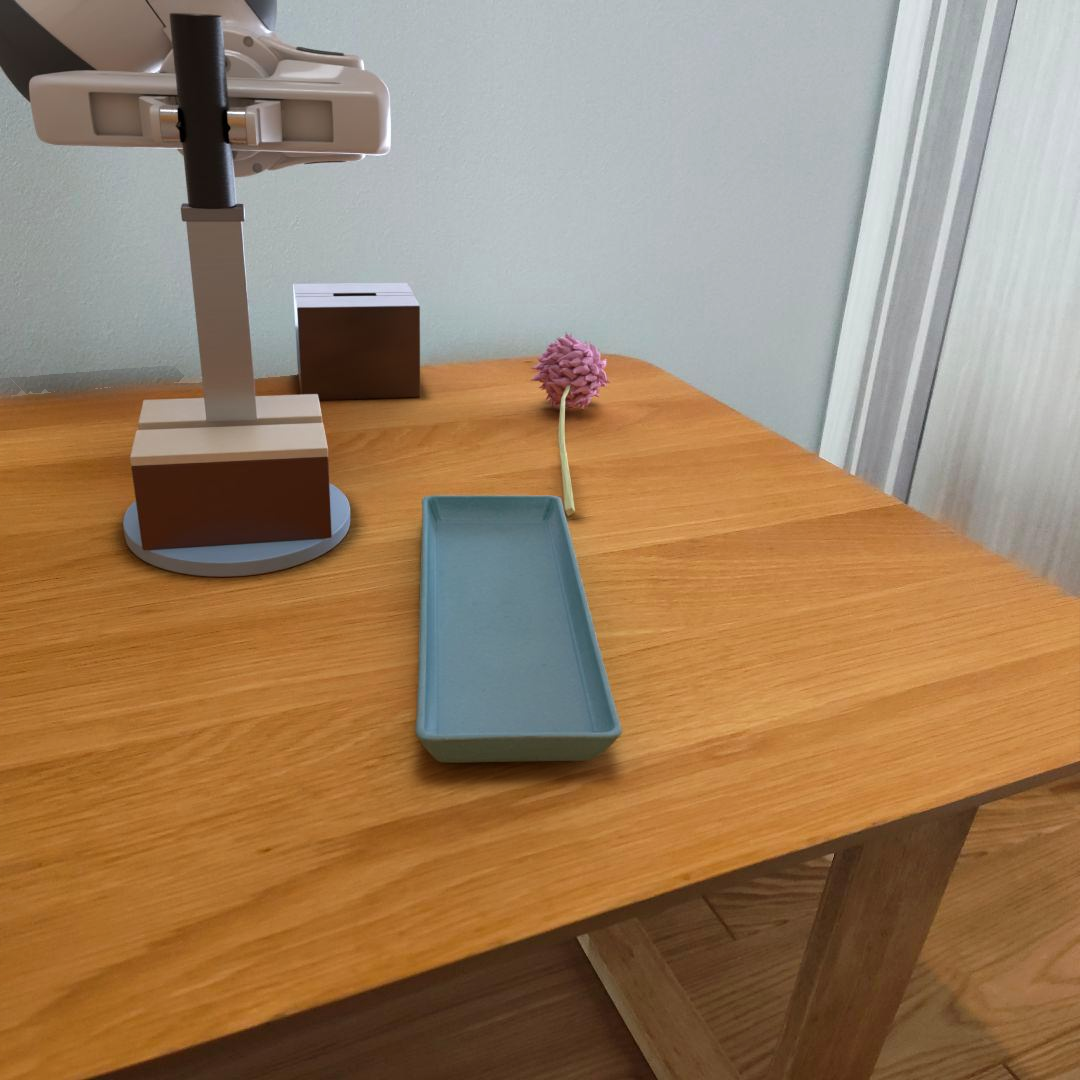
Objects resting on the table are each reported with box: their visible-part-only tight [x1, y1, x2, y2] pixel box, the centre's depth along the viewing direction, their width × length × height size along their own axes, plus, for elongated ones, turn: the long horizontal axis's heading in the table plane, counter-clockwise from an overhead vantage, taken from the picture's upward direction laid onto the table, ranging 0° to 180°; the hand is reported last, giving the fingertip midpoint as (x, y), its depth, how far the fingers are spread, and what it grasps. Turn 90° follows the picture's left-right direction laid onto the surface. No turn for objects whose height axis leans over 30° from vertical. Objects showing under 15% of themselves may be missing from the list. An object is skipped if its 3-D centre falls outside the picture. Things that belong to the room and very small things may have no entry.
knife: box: [169, 13, 257, 422], centre depth 60 cm, size 3×3×22 cm
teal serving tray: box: [414, 494, 623, 764], centre depth 58 cm, size 26×9×2 cm, turn 5°
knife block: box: [292, 282, 421, 401], centre depth 92 cm, size 10×8×8 cm
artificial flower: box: [529, 331, 611, 517], centre depth 82 cm, size 7×7×25 cm
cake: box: [122, 394, 351, 578], centre depth 67 cm, size 14×14×7 cm
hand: (204, 127), depth 57 cm, fingers closed on knife, 2 cm apart
